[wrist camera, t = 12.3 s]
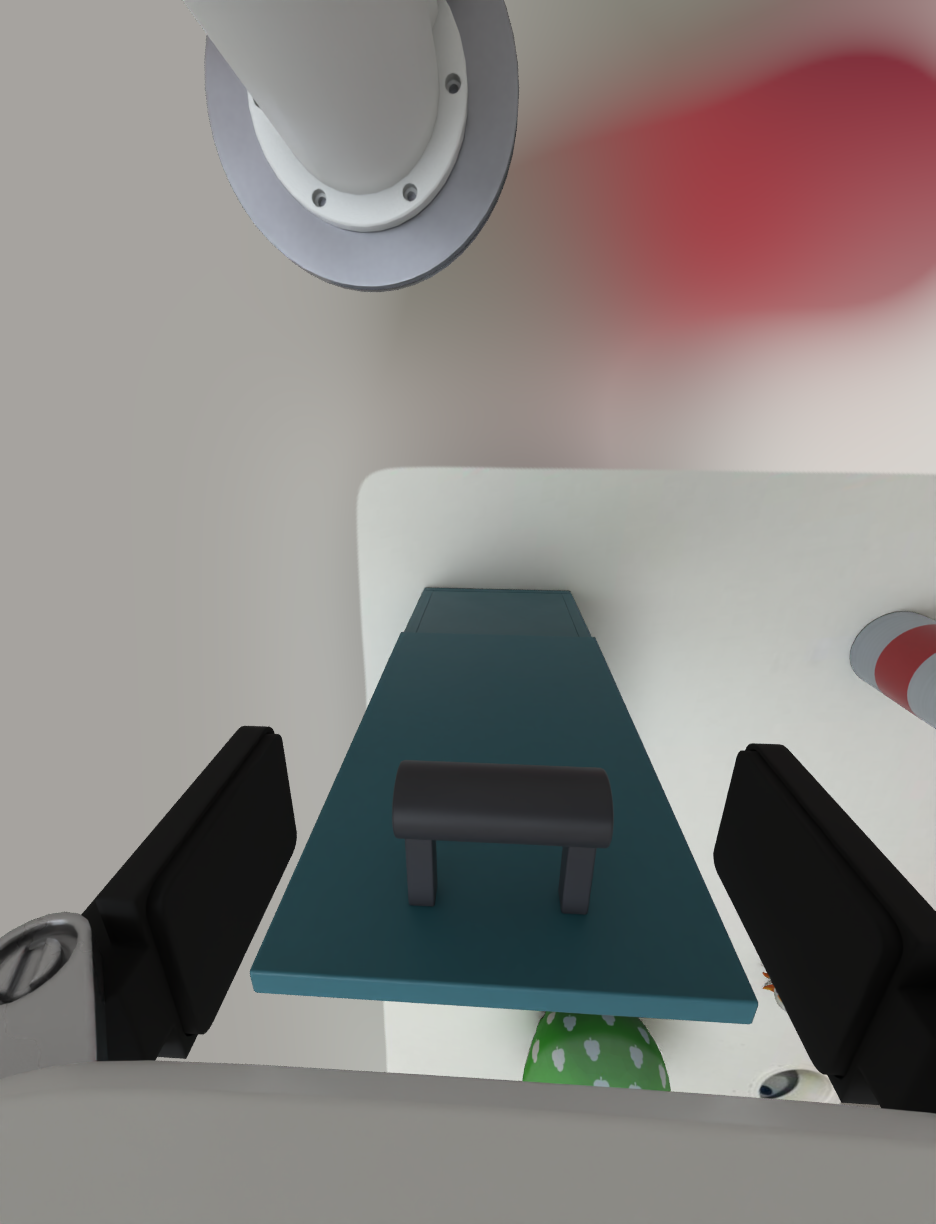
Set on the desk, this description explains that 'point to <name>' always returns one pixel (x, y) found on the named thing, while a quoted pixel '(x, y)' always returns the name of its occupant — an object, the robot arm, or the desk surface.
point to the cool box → (497, 612)
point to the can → (900, 661)
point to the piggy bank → (595, 1052)
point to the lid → (502, 850)
